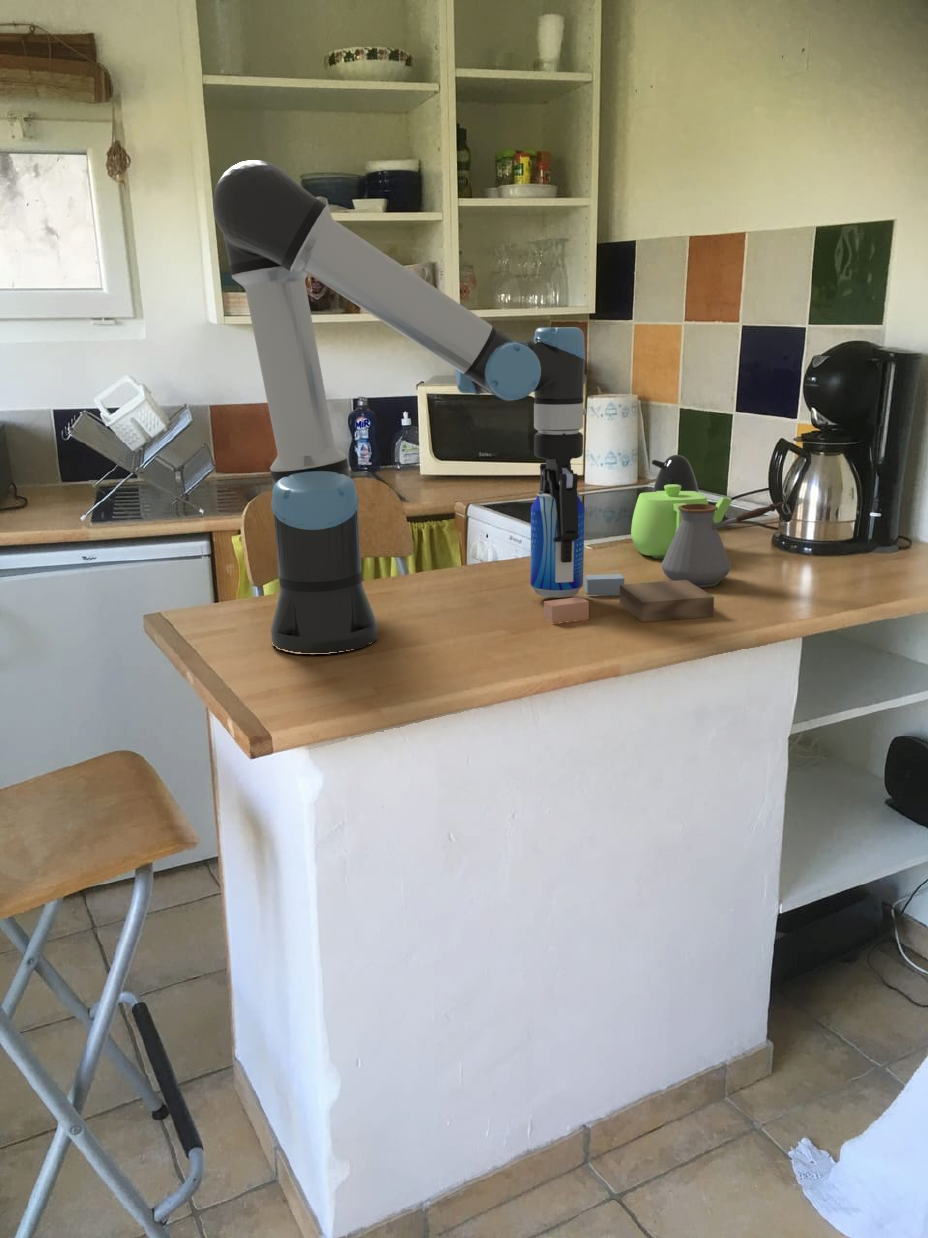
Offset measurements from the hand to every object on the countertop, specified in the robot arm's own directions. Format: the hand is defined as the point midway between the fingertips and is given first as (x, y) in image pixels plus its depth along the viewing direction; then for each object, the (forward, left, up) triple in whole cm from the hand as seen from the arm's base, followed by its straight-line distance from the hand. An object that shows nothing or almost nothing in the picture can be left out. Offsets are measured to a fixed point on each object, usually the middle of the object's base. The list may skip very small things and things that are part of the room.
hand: (556, 574), depth 163 cm
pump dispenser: (+39, +52, -4) cm, 65 cm away
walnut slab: (+14, -10, -4) cm, 18 cm away
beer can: (0, 0, -3) cm, 3 cm away
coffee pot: (+28, +1, -4) cm, 29 cm away
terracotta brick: (-1, -11, -4) cm, 12 cm away
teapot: (+31, +27, -4) cm, 42 cm away
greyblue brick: (+8, +2, -4) cm, 10 cm away
